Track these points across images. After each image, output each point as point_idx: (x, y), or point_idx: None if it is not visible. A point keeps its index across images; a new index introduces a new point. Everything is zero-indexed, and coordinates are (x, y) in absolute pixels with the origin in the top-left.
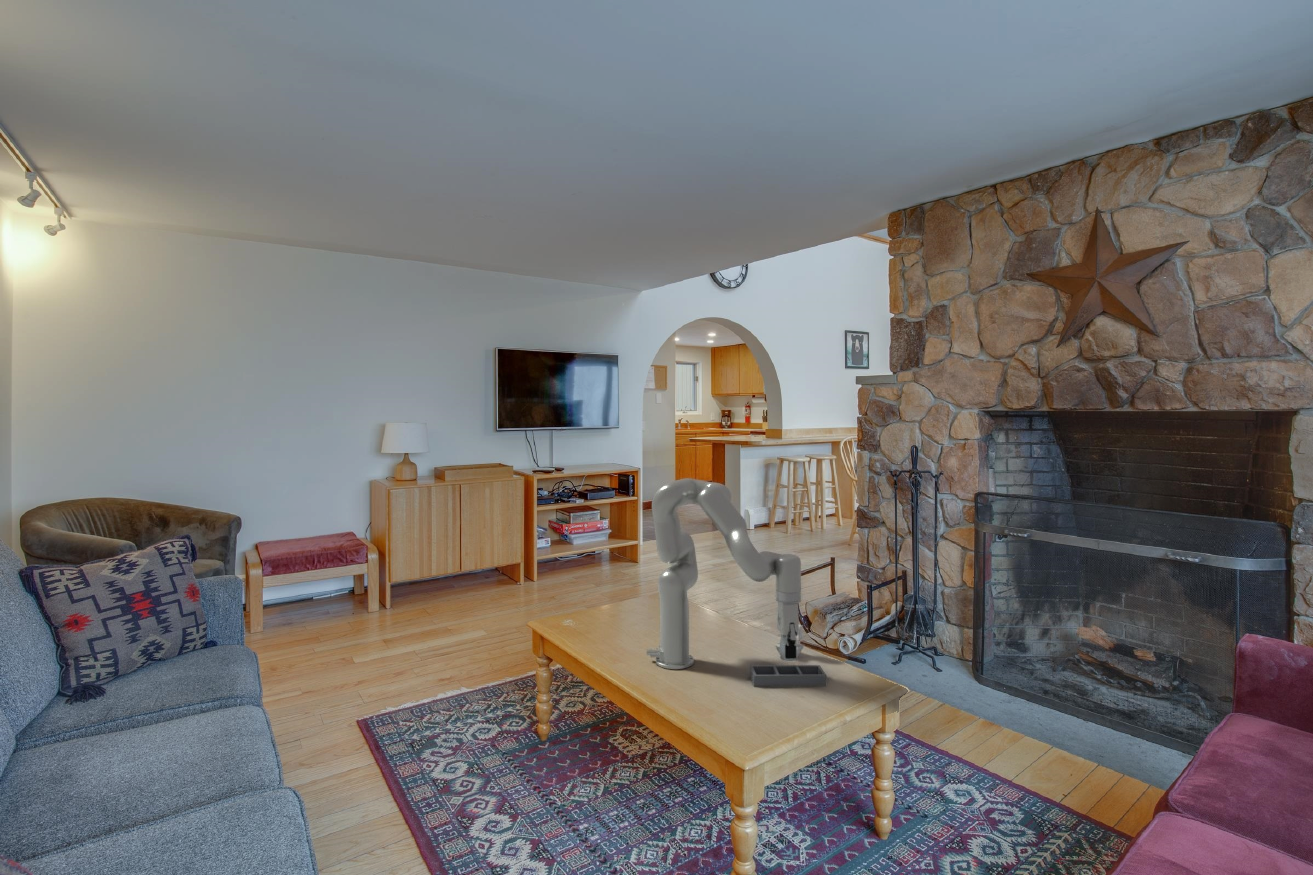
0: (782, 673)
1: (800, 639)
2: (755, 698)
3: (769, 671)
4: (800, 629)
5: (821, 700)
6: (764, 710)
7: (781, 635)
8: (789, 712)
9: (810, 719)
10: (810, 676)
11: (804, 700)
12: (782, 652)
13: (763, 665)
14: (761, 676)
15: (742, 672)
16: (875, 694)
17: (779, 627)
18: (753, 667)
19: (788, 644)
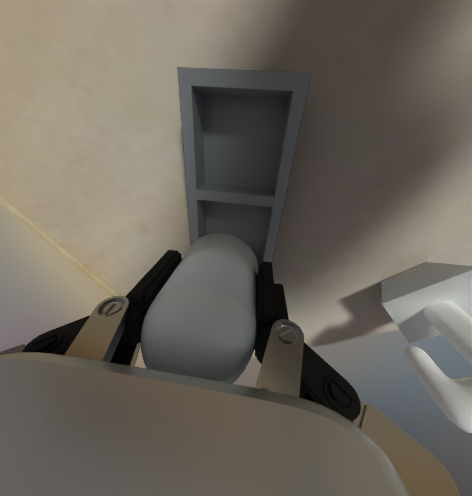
0: (267, 222)
1: (405, 355)
2: (95, 64)
3: (275, 178)
4: (440, 404)
5: (133, 261)
6: (18, 82)
7: (299, 332)
8: (44, 167)
9: (33, 208)
10: None
11: (124, 227)
12: (192, 253)
13: (292, 156)
14: (183, 114)
15: (347, 52)
16: None
17: (94, 464)
18: (291, 95)
19: (102, 312)
